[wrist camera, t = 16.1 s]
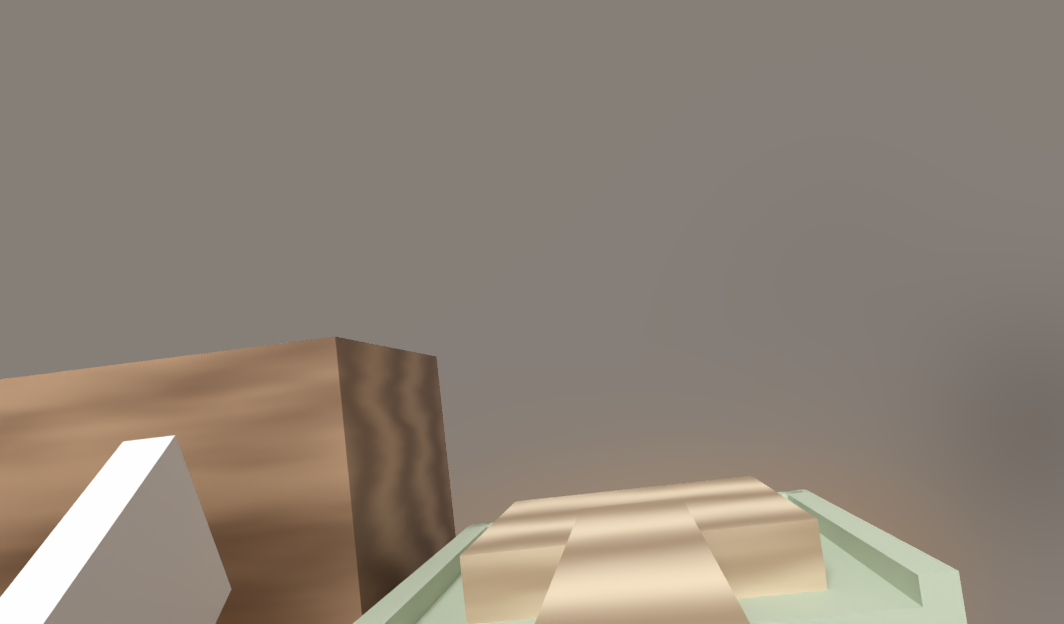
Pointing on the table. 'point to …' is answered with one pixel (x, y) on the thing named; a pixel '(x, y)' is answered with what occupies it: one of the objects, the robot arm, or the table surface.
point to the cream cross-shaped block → (642, 556)
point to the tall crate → (253, 465)
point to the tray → (775, 620)
